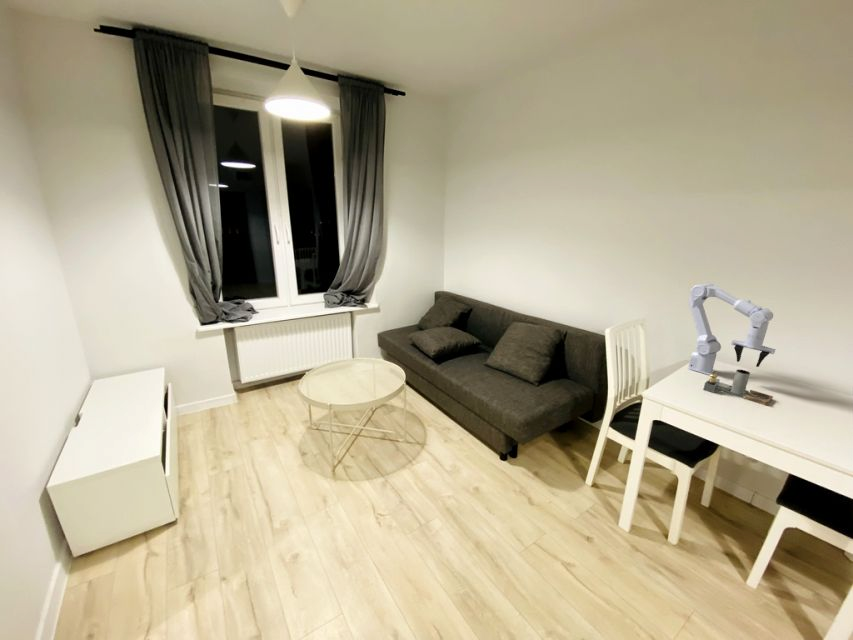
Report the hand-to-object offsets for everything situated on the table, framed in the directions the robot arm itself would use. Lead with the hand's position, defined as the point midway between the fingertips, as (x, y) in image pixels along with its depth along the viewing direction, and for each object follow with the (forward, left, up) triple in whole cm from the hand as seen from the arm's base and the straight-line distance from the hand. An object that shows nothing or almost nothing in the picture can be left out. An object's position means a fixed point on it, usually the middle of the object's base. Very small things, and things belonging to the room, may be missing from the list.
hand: (747, 363), depth 161 cm
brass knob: (-7, -19, -7) cm, 21 cm away
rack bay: (+8, -12, -10) cm, 18 cm away
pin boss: (-7, -19, -10) cm, 22 cm away
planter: (+1, -12, -11) cm, 16 cm away
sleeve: (-3, -12, -10) cm, 16 cm away
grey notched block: (-6, -12, -10) cm, 17 cm away
